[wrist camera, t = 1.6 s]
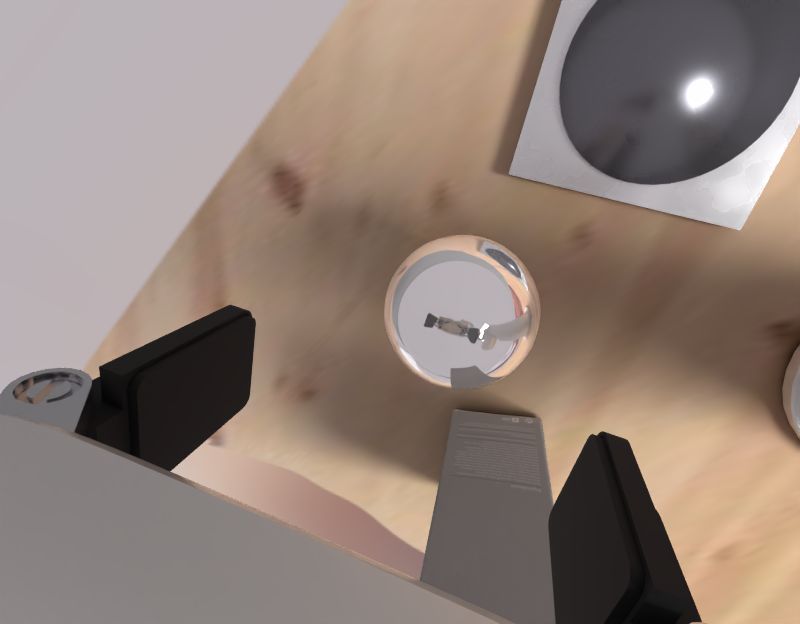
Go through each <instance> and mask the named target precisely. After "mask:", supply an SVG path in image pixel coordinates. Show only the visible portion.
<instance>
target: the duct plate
mask: <svg viewBox="0 0 800 624" xmlns="http://www.w3.org/2000/svg"><path fill="white" fill-rule="evenodd" d="M799 124H800V0H562V1H561V5H560V8H559V11H558V14H557V18H556V21H555V24H554V27H553V31H552V34H551V37H550V40H549V44H548V47H547V50H546V53H545V57H544V60H543V63H542V66H541V70H540V73H539V76H538V79H537V83H536V86H535V89H534V92H533V96H532V99H531V102H530V105H529V109H528V112H527V115H526V118H525V122H524V125H523V128H522V131H521V135H520V138H519V141H518V144H517V148H516V151H515V154H514V157H513V161H512V164H511V167H510V170H509V175H513V176H517V177H521V178H525V179H529V180H534V181H538V182H542V183H546V184H550V185H554V186H558V187H562V188H567V189H571V190H575V191H579V192H583V193H587V194H591V195H596V196H600V197H604V198H608V199H612V200H616V201H620V202H624V203H629V204H633V205H637V206H641V207H645V208H649V209H653V210H658V211H662V212H666V213H670V214H674V215H678V216H682V217H686V218H691V219H695V220H699V221H703V222H707V223H711V224H715V225H720V226H724V227H728V228H732V229H736V230H741V229H742V227H743V225H744V223H745V221H746V220H747V218H748V216H749V214H750V212H751V211H752V209H753V207H754V205H755V203H756V202H757V200H758V198H759V196H760V194H761V193H762V191H763V189H764V187H765V185H766V183H767V182H768V180H769V178H770V176H771V174H772V173H773V171H774V169H775V167H776V165H777V164H778V162H779V160H780V158H781V156H782V155H783V153H784V151H785V149H786V147H787V146H788V144H789V142H790V140H791V138H792V137H793V135H794V133H795V131H796V129H797V128H798V126H799Z"/></svg>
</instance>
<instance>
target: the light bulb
mask: <svg viewBox="0 0 800 624" xmlns="http://www.w3.org/2000/svg"><path fill="white" fill-rule="evenodd" d="M540 314H541V309H540V299H539V294H538V291H537V288H536V285H535V282H534V280H533V278H532V277H531V275H530V273H529V271H528V270H527V268H526V266H525V265H524V264H523V263H522V262H521V261H520V259H519V258H518V257H517V256H516V255H515V254H514V253H512V252H511V251H510V250H508V249H507V248H506V247H504V246H503V245H501V244H499V243H497V242H495V241H492V240H490V239H488V238H483V237H479V236H475V235H452V236H446V237H442V238H439V239H436V240H433V241H431V242H428V243H426V244H424V245H423V246H421V247H419V248H418V249H416V250H415V251H413V252H412V253H411V254H410V255H409V256H408V257H407V258H406V259H405V260H404V261H403V262H402V264H401V265H400V266H399V268H398V269H397V271H396V272H395V274H394V275H393V277H392V279H391V282H390V284H389V286H388V289H387V293H386V299H385V305H384V323H385V327H386V332H387V336H388V338H389V340H390V343H391V345H392V347H393V349H394V351H395V352H396V354H397V355H398V357H399V358H400V360H401V361H402V362H403V363H404V364H405V365H406V367H407V368H408V369H409V370H410V371H412V372H413V373H414V374H416V375H417V376H418V377H420V378H421V379H423V380H425V381H427V382H429V383H431V384H434V385H437V386H440V387H443V388H449V389H456V390H460V389H474V388H479V387H483V386H488V385H490V384H492V383H495V382H497V381H499V380H501V379H503V378H504V377H506V376H507V375H508V374H510V373H511V372H512V371H513V370H514V369H515V368H516V367H517V366H518V365H519V364H520V363H521V362H522V361H523V360H524V359H525V358H526V356H527V355H528V353H529V351H530V350H531V348H532V347H533V344H534V341H535V339H536V336H537V333H538V329H539V322H540Z"/></svg>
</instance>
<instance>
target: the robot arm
mask: <svg viewBox="0 0 800 624" xmlns="http://www.w3.org/2000/svg"><path fill="white" fill-rule="evenodd" d="M255 326H256V321H255V319H254V318H253V317H252V314H251V312H250V311H248V310H245V309H242V308H239V307H236V306H233V305H229V306H226V307H224V308H222V309H220V310H218V311H216V312H213V313H211V314H209V315H207V316H205V317H203V318H201V319H199V320H197V321H194V322H192V323H190V324H188V325H186V326H184V327H182V328H180V329H178V330H176V331H173V332H171V333H169V334H167V335H165V336H163V337H161V338H159V339H157V340H155V341H152V342H150V343H148V344H146V345H144V346H142V347H140V348H138V349H136V350H133V351H131V352H129V353H127V354H125V355H123V356H121V357H119V358H117V359H115V360H112V361H110V362H108V363H106V364H104V365H102V366H100V367H99V370H100V377H98V378H96V379H94V380H92V378H91V377H90V376H89V374H87V373H85V372H83V371H81V370H76V369H72V368H54V369H45V370H41V371H37V372H32V373H30V374H27V375H24V376H22V377H19V378H18V379H16V380H14V381H13V382H11V383H10V384H9V385H8V386H7V387H6V388H5V389H4V390H3V391H2V393H1V394H0V624H515V623H513V622H511V621H509V620H507V619H505V618H502V617H500V616H498V615H496V614H494V613H492V612H489V611H487V610H485V609H483V608H481V607H478V606H476V605H474V604H471V603H469V602H467V601H465V600H462V599H460V598H458V597H456V596H453V595H451V594H449V593H447V592H444V591H442V590H440V589H438V588H435V587H433V586H431V585H429V584H426V583H424V582H422V581H420V580H417V579H415V578H412V577H411V576H408V575H406V574H404V573H402V572H399V571H397V570H395V569H392V568H390V567H388V566H386V565H384V564H381V563H379V562H377V561H374V560H372V559H370V558H368V557H366V556H363V555H361V554H359V553H356V552H354V551H352V550H350V549H347V548H345V547H343V546H340V545H338V544H336V543H333V542H331V541H329V540H326V539H325V538H322V537H320V536H318V535H315V534H313V533H311V532H309V531H306V530H304V529H302V528H299V527H297V526H295V525H292V524H290V523H288V522H285V521H283V520H281V519H279V518H276V517H274V516H272V515H270V514H267V513H265V512H263V511H260V510H258V509H256V508H253V507H251V506H249V505H247V504H244V503H242V502H239V501H237V500H235V499H233V498H230V497H228V496H225V495H223V494H221V493H219V492H216V491H214V490H211V489H209V488H207V487H205V486H202V485H200V484H198V483H195V482H193V481H191V480H188V479H186V478H184V477H181V476H179V475H177V474H175V473H172V472H170V471H171V470H172V469H174V468H175V467H176V466H177V465H178V464H179V463H180V462H182V461H183V460H184V459H185V458H186V457H187V456H188V455H190V454H191V453H192V452H193V451H194V450H195V449H197V448H198V447H199V446H200V445H201V444H202V443H203V442H205V441H206V440H207V439H208V438H209V437H210V436H211V435H213V434H214V433H215V432H216V431H217V430H218V429H220V428H221V427H222V426H223V425H224V424H225V423H226V422H228V421H229V420H230V419H231V418H232V417H233V416H234V415H236V414H237V413H238V412H239V411H240V410H241V409H242V408H244V406H245V405H246V404H247V402H248V400H249V397H250V387H251V375H252V363H253V351H254V339H255ZM782 392H783V407H784V410H785V413H786V416H787V419H788V421H789V424H790V426H791V427H792V429H793V430H794V432H795V433H796V434H797V436H798V437H799V439H800V345H799V346H798V348H797V349H796V350H795V352H794V354H793V356H792V358H791V361H790V363H789V365H788V367H787V369H786V373H785V378H784V383H783V387H782ZM548 530H549V544H550V557H551V570H552V583H553V596H554V609H555V623H556V624H706V623H703V622H702V620H701V618H700V615H699V613H698V610H697V608H696V605H695V603H694V600H693V598H692V595H691V593H690V590H689V588H688V585H687V583H686V580H685V578H684V575H683V573H682V570H681V568H680V565H679V563H678V560H677V558H676V555H675V553H674V550H673V548H672V545H671V543H670V540H669V538H668V535H667V532H666V530H665V527H664V525H663V522H662V520H661V517H660V515H659V513H658V512H657V510H656V509H655V507H654V505H653V502H652V500H651V497H650V494H649V492H648V489H647V487H646V484H645V482H644V479H643V477H642V474H641V472H640V469H639V466H638V464H637V461H636V459H635V456H634V454H633V451H632V449H631V446H630V443H629V442H628V440H626V439H624V438H621V437H618V436H615V435H612V434H609V433H606V432H603V431H602V432H600V433H599V434H598V435H594V434H591V435H590V436H589V438H588V439H587V441H586V443H585V445H584V447H583V449H582V451H581V453H580V455H579V457H578V459H577V461H576V463H575V465H574V467H573V469H572V471H571V473H570V475H569V477H568V479H567V481H566V482H565V484H564V486H563V488H562V490H561V492H560V494H559V496H558V498H557V500H556V502H555V504H554V506H553V508H552V510H551V512H550V516H549V521H548Z"/></svg>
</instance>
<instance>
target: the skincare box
mask: <svg viewBox="0 0 800 624" xmlns="http://www.w3.org/2000/svg"><path fill="white" fill-rule="evenodd" d="M553 506H554V504H553V497H552V490H551V484H550V476H549V469H548V462H547V455H546V448H545V440H544V433H543V425H542V420H541V419H540V418H532V417H523V416H511V415H500V414H490V413H482V412H472V411H465V410H459V409H455V410H454V411H453V412H452V418H451V424H450V429H449V434H448V440H447V445H446V450H445V455H444V460H443V465H442V470H441V475H440V480H439V486H438V491H437V496H436V501H435V506H434V511H433V516H432V521H431V526H430V531H429V536H428V541H427V546H426V551H425V557H424V562H423V567H422V572H421V577H420V581H422V582H424V583H426V584H429V585H431V586H433V587H435V588H438V589H440V590H442V591H444V592H447V593H449V594H451V595H453V596H456V597H458V598H460V599H462V600H465V601H467V602H469V603H471V604H474V605H476V606H478V607H481V608H483V609H485V610H487V611H489V612H492V613H494V614H496V615H498V616H500V617H502V618H505V619H507V620H509V621H511V622H513V623H515V624H556V623H555V609H554V596H553V583H552V570H551V557H550V544H549V530H548V521H549V516H550V512H551V510H552V508H553Z"/></svg>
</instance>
